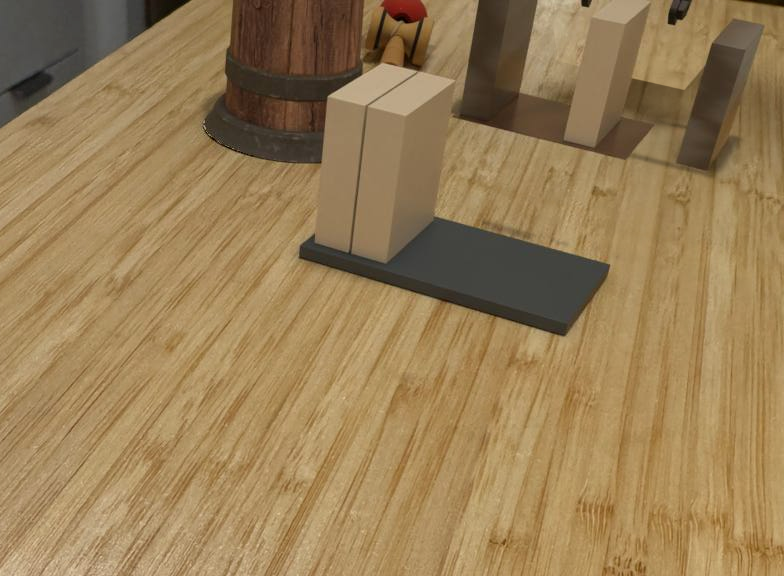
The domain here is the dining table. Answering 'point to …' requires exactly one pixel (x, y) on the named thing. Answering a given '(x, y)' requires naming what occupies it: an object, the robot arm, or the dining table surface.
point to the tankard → (285, 75)
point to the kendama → (400, 31)
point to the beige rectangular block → (606, 70)
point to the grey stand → (549, 118)
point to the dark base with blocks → (426, 210)
